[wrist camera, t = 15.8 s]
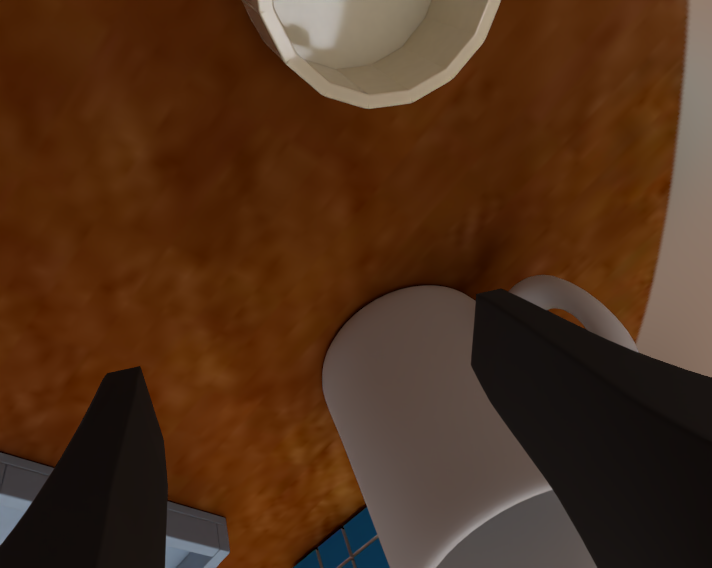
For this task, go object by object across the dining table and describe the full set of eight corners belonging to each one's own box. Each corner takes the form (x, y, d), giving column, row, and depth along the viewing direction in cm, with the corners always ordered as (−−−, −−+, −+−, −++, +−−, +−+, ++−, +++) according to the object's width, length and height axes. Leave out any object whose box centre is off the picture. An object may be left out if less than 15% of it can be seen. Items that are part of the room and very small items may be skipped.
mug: (420, 444, 31) (532, 656, 22) (284, 402, 26) (354, 645, 18) (568, 264, 27) (773, 428, 18) (439, 182, 23) (625, 346, 14)
